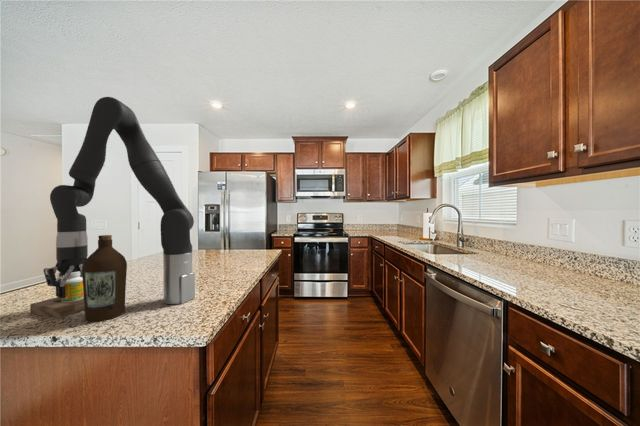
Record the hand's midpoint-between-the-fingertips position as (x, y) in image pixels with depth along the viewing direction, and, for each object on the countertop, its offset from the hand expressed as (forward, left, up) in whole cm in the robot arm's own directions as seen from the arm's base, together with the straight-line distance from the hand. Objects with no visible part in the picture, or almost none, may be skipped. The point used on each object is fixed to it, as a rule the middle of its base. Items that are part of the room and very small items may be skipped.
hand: (72, 294), depth 84 cm
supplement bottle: (0, 0, -2) cm, 2 cm away
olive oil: (-18, +2, -5) cm, 19 cm away
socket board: (0, 0, -4) cm, 4 cm away
